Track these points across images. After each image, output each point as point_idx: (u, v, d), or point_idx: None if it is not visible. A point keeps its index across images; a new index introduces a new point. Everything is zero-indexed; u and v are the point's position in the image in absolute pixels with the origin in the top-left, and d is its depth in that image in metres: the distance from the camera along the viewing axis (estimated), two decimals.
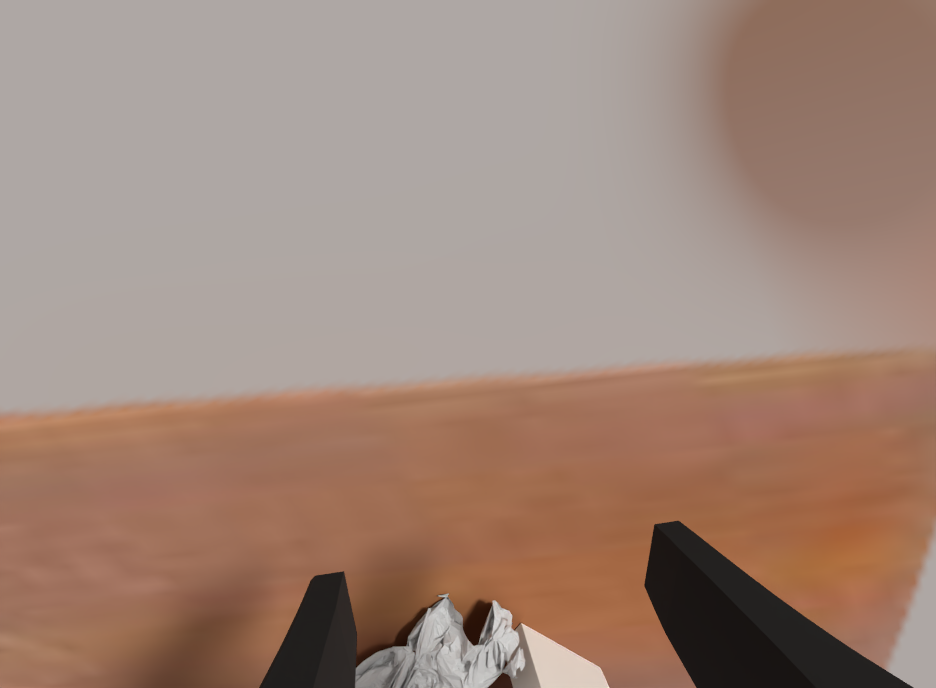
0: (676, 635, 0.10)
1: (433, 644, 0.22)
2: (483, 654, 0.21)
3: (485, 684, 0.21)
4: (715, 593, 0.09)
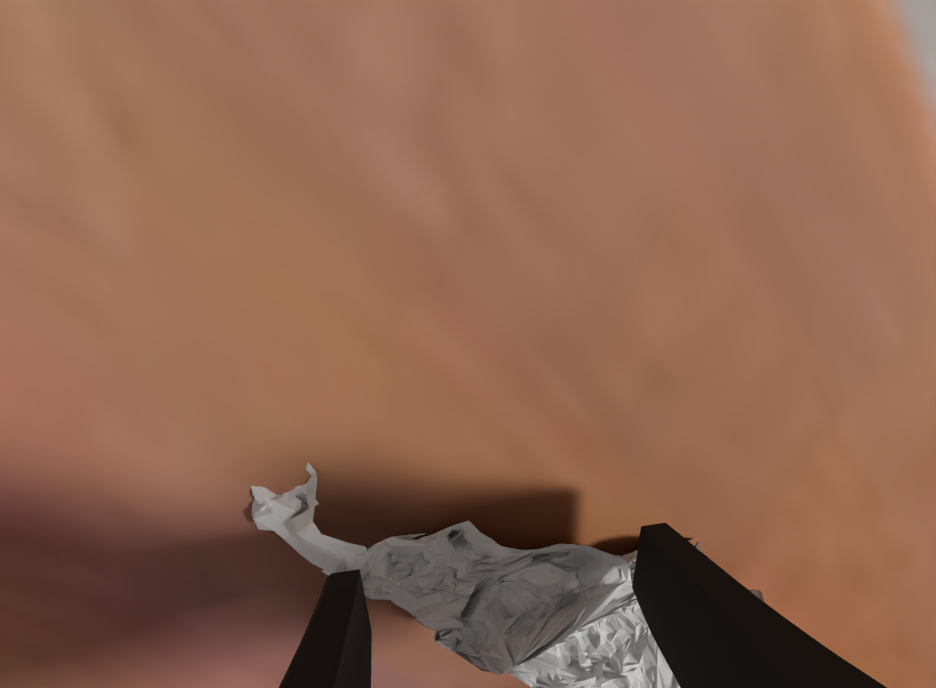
0: (662, 638, 0.10)
1: None
2: None
3: None
4: (699, 596, 0.08)
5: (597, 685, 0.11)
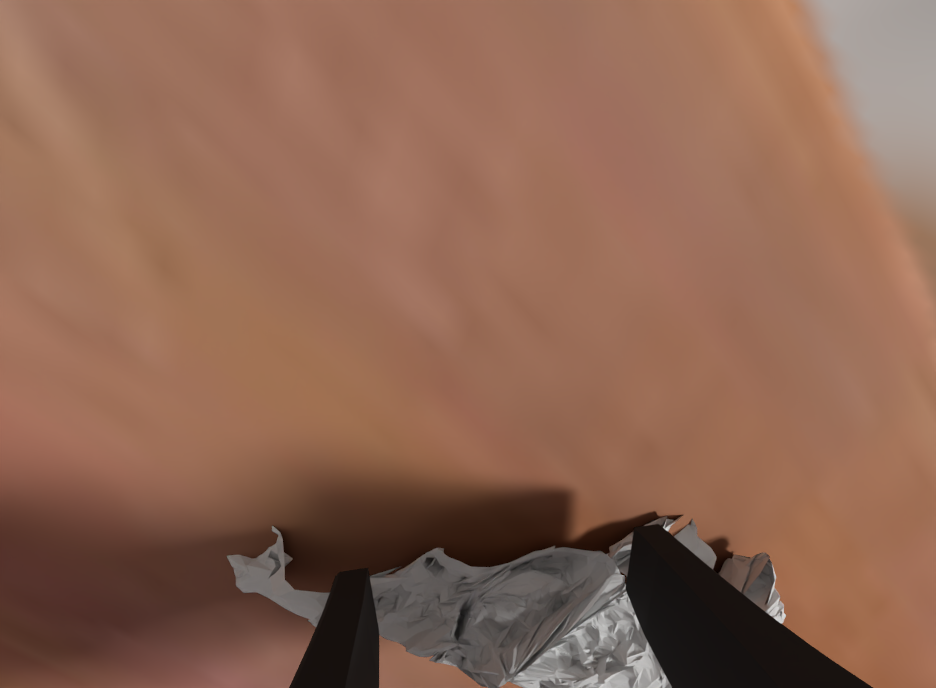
0: (655, 639, 0.10)
1: None
2: None
3: None
4: (690, 597, 0.08)
5: (600, 681, 0.11)
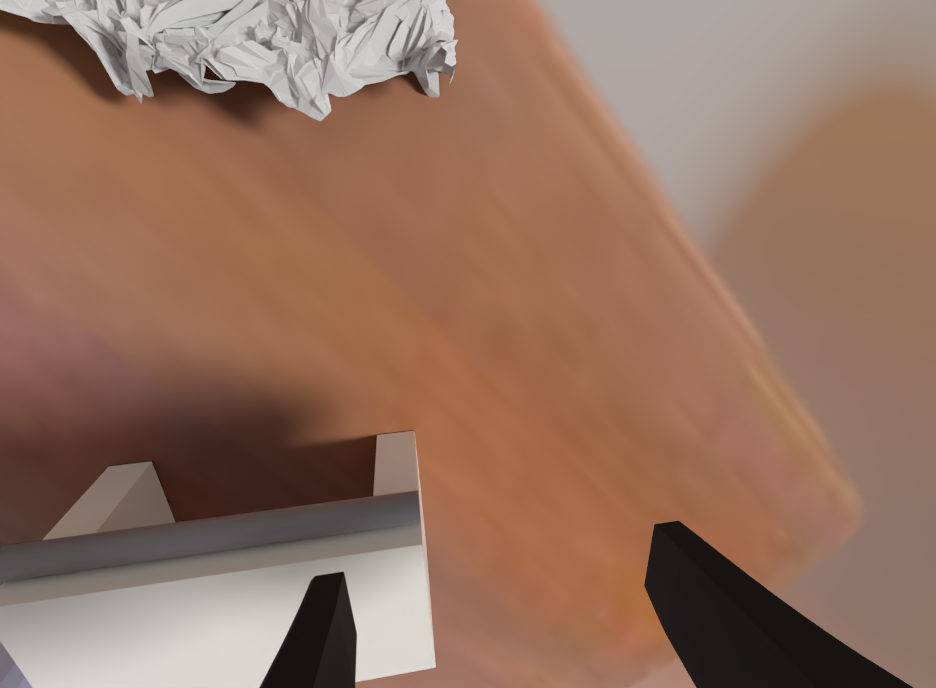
0: (676, 635, 0.10)
1: None
2: (393, 17, 0.12)
3: (372, 72, 0.12)
4: (715, 593, 0.09)
5: (240, 44, 0.11)
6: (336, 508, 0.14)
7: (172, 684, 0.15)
